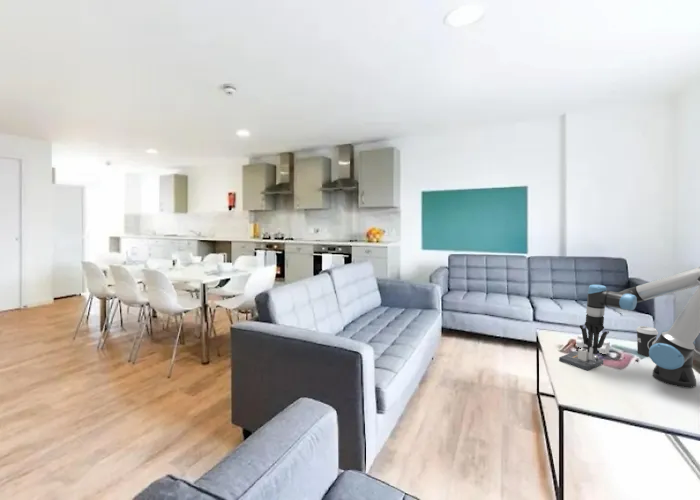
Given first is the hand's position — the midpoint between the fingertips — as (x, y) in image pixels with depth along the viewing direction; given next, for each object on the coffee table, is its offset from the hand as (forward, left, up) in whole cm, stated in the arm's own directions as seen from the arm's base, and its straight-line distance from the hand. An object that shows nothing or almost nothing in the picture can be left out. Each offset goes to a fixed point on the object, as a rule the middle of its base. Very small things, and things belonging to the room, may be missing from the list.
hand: (591, 359), depth 181 cm
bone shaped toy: (+10, -23, -4) cm, 25 cm away
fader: (+4, 0, -1) cm, 4 cm away
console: (+5, 0, -4) cm, 6 cm away
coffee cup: (-8, -42, -4) cm, 43 cm away
